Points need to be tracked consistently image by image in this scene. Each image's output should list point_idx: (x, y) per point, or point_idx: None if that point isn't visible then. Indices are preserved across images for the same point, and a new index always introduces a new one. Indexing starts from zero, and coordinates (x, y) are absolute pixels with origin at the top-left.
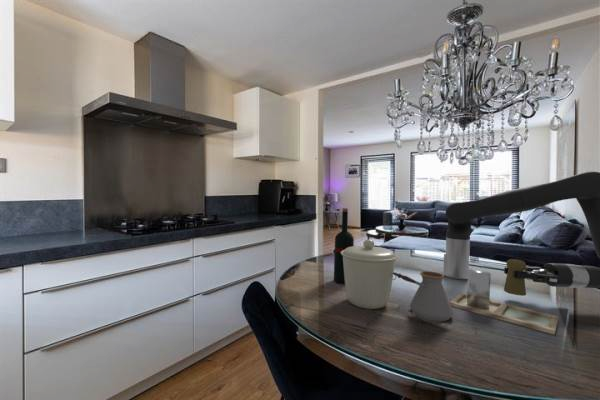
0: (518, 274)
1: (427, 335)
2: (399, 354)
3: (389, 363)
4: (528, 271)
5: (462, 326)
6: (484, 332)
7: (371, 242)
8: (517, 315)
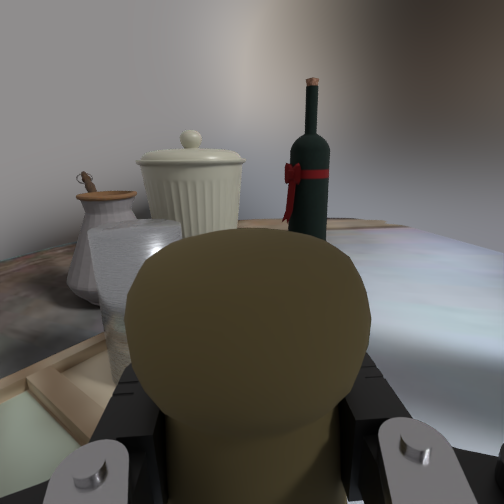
0: (131, 373)
1: (52, 283)
2: (21, 264)
3: (10, 259)
4: (104, 456)
5: (58, 321)
6: (4, 345)
7: (181, 134)
8: (3, 463)
